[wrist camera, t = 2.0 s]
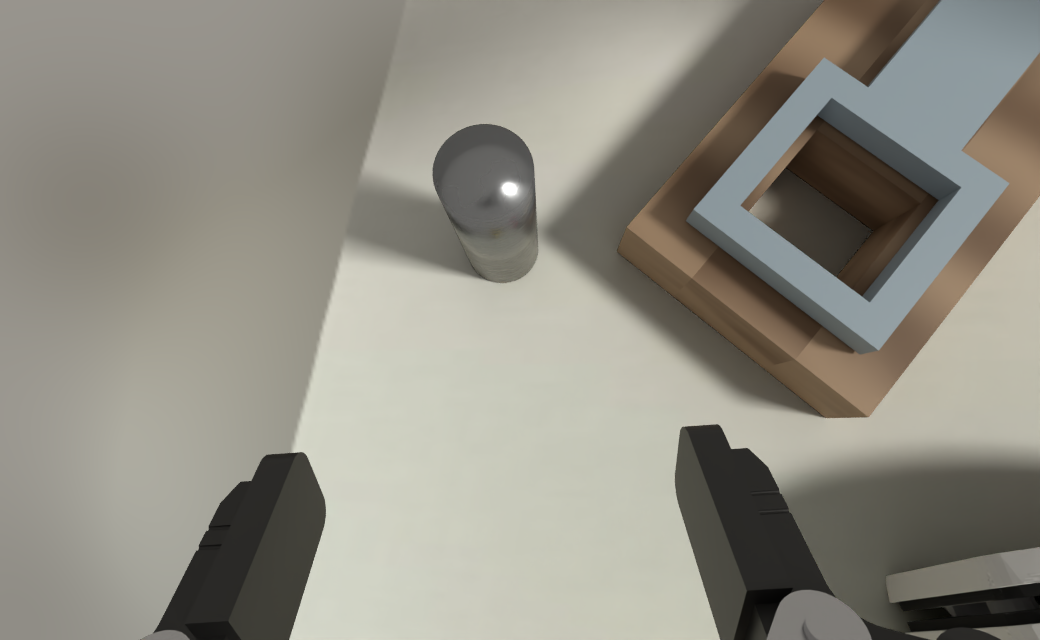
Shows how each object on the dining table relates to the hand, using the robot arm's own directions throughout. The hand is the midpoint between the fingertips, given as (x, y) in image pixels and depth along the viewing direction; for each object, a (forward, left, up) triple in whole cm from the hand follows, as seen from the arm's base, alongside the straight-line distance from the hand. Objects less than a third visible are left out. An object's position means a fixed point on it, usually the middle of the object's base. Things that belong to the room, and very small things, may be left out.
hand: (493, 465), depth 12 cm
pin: (-7, -8, -18) cm, 21 cm away
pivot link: (-23, +4, -14) cm, 27 cm away
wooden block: (-22, +4, -18) cm, 28 cm away
